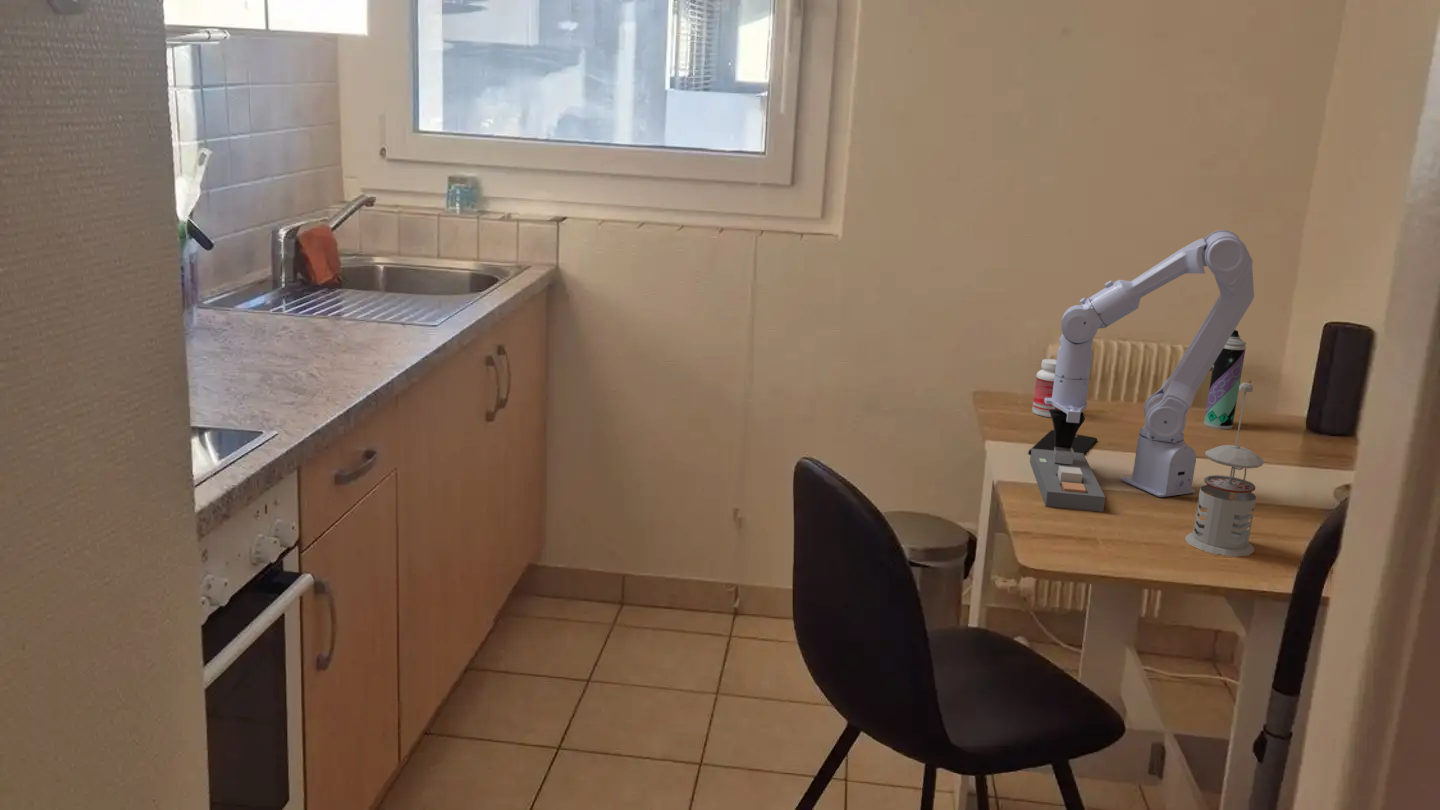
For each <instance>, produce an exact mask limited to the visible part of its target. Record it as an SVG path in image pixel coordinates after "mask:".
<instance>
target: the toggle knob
mask: <svg viewBox="0 0 1440 810" xmlns="http://www.w3.org/2000/svg"><path fill="white" fill-rule="evenodd" d="M1073 457H1074V451H1073V449H1072V448H1065V447H1054V454H1053V460H1054V463H1062V464H1073Z"/></svg>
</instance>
